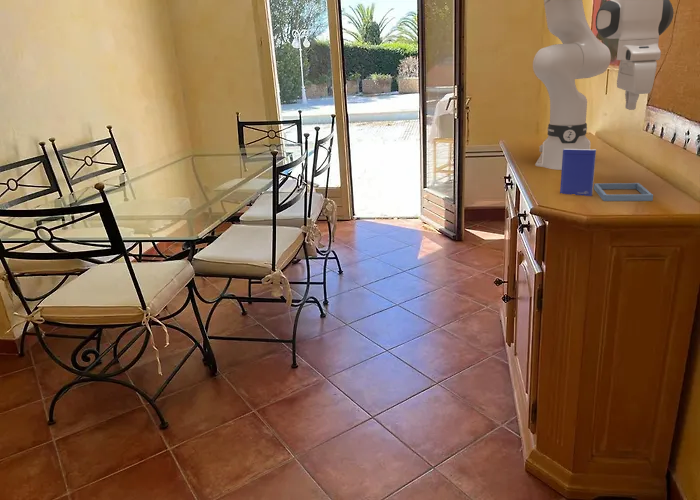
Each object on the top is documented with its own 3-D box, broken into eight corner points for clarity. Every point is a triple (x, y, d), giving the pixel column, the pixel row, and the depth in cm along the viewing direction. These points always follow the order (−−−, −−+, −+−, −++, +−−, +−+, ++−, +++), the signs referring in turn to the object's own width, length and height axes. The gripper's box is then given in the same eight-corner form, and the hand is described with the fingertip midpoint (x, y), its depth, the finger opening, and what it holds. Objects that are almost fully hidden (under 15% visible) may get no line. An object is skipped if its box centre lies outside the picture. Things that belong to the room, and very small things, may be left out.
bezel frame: (593, 188, 154) (594, 183, 154) (638, 188, 151) (639, 182, 151) (603, 200, 142) (604, 195, 141) (652, 200, 139) (653, 195, 138)
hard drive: (591, 196, 147) (595, 150, 143) (559, 194, 151) (562, 149, 147) (592, 194, 148) (596, 149, 144) (560, 193, 152) (563, 148, 148)
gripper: (613, 51, 145) (608, 105, 149) (633, 53, 126) (626, 114, 131) (639, 50, 143) (633, 104, 148) (663, 52, 125) (655, 113, 129)
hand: (630, 109), depth 139 cm, fingers closed
